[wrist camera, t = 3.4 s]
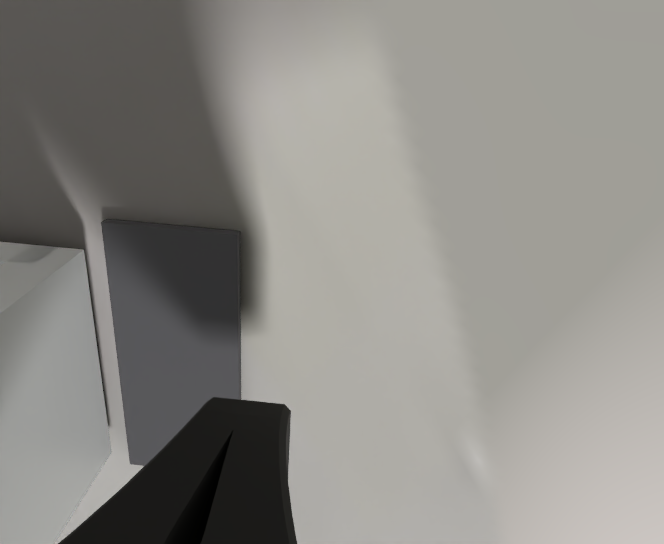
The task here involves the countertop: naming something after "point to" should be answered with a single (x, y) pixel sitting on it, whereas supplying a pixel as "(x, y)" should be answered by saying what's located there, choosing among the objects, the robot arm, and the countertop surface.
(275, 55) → the countertop surface
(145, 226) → the pad
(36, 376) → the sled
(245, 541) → the robot arm
